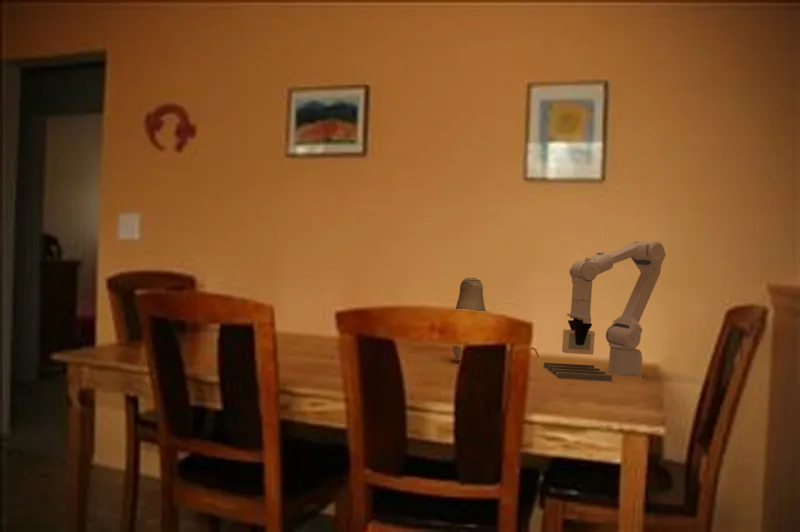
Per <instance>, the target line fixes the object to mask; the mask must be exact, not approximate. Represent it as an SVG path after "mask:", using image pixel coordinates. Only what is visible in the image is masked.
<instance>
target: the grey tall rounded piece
mask: <svg viewBox="0 0 800 532" xmlns="http://www.w3.org/2000/svg"><path fill="white" fill-rule="evenodd" d="M483 286H484V285H483V283H482V281H481V280H480V279H478V278H476V277H466V278H464V279H463V280H462V281H461V282H460V285H459V292H458V293H459V294H458V299H457V302H456V306H455V308H456V309H469V310H476V311H485V312H486V307H485V302H484V287H483ZM486 313H487V312H486ZM452 352H453V355H454V357H455V359H456V360H457V361H459V357H460V353H461V347H458V346H453V345H452Z"/></svg>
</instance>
